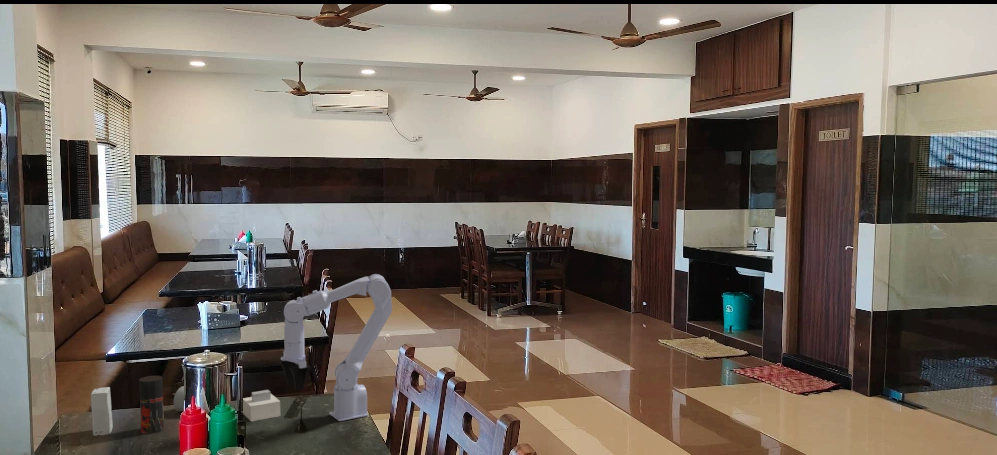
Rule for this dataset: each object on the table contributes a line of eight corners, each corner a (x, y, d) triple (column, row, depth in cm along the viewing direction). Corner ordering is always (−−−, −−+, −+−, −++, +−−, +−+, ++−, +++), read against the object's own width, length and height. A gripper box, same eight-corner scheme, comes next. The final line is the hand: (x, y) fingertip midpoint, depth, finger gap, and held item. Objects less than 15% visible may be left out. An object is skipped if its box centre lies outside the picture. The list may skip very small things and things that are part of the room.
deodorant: (167, 429, 211) (165, 378, 210) (146, 435, 207) (144, 382, 206) (158, 424, 215) (157, 374, 214) (137, 429, 211) (135, 378, 210)
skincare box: (109, 434, 207) (108, 392, 206) (91, 436, 206) (90, 394, 205) (113, 427, 213) (111, 386, 212) (95, 429, 212) (93, 387, 211)
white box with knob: (271, 407, 231) (271, 386, 230) (280, 416, 224) (280, 393, 223) (242, 413, 226) (242, 390, 225) (251, 421, 219) (250, 398, 218)
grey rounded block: (196, 417, 222) (196, 391, 222) (173, 414, 224) (172, 389, 224) (217, 406, 233) (217, 382, 232) (194, 404, 234) (194, 380, 234)
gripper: (273, 338, 222) (273, 382, 223) (289, 348, 210) (289, 394, 212) (296, 335, 226) (296, 378, 227) (313, 345, 214) (313, 390, 215)
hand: (295, 386), depth 220 cm, fingers open, 7 cm apart
